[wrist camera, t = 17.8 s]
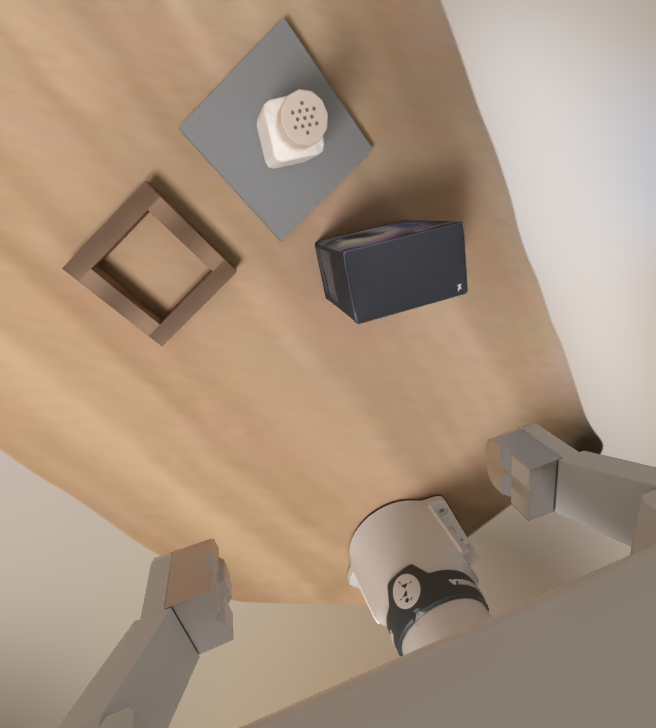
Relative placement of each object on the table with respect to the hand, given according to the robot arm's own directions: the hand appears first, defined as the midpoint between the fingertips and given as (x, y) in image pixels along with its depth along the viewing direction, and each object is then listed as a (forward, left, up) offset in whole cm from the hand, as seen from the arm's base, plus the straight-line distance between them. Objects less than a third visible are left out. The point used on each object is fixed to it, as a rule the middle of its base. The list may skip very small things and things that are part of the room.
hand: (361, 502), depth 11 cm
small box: (-6, -11, -31) cm, 34 cm away
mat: (+8, -11, -31) cm, 34 cm away
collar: (+8, +5, -31) cm, 32 cm away
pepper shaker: (+8, -11, -30) cm, 33 cm away
